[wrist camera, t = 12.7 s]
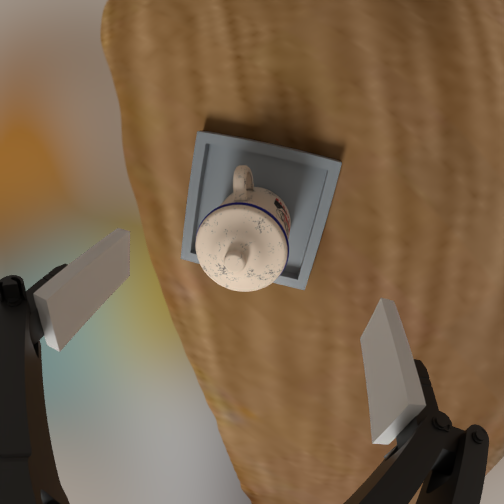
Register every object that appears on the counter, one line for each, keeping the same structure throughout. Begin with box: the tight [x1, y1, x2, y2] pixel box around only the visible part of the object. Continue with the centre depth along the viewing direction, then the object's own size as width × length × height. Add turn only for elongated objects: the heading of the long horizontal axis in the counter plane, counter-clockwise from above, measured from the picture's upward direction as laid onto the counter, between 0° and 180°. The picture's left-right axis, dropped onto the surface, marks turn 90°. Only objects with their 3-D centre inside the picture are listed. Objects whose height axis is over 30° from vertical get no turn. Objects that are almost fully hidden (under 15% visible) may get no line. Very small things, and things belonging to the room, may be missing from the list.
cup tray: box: [181, 131, 342, 290], centre depth 36 cm, size 16×16×2 cm
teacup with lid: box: [195, 165, 291, 291], centre depth 31 cm, size 12×9×12 cm
